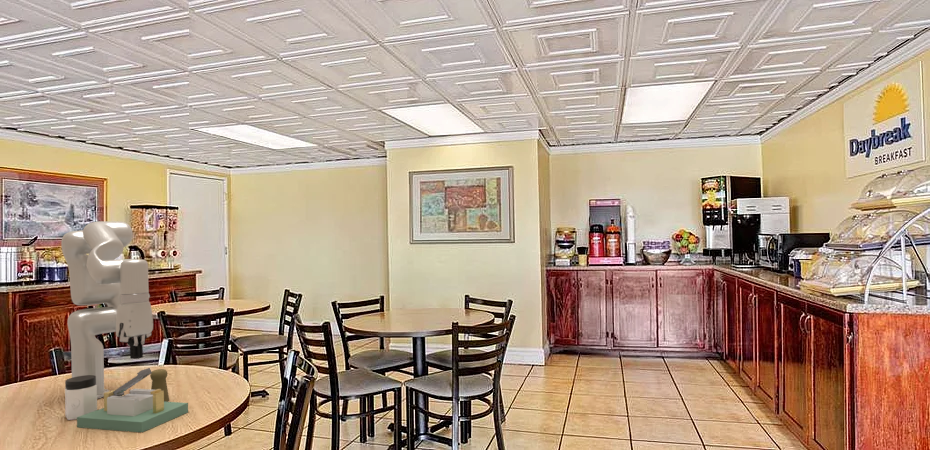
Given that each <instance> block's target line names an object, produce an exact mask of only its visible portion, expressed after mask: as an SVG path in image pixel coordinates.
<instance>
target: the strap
mask: <svg viewBox="0 0 930 450" xmlns="http://www.w3.org/2000/svg"><path fill="white" fill-rule="evenodd" d="M151 373H152V369H151V368H150V367H147V368H144V369H141V370H140V371H138V372H137V373H136V375H135V376H134V377H133V378H131V379H129V381H127V382H126V383H123V385H121V386H120V387H118V388H115V389H116V390H115V389H114V390H115V391H113V394H114V395H117V394H120V393H123V392H124V393H125V391H127V390H128V389H129V390H130V388H132V387H134V386H135V385H136V384H138V383H139V382H140V381H143V380H144V379H145V378H146V377H148V376H150V374H151Z"/></svg>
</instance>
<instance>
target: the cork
mask: <svg viewBox="0 0 930 450" xmlns="http://www.w3.org/2000/svg"><path fill="white" fill-rule="evenodd" d="M151 372H152V373H151V374H150V375H149V378H150V379H151V388H150V389H151V390H156V389H161V391H164V402H170V396H169V389H168V385H167V377H168V370H166V369H165V368H159V369H158V368H157V369H154V370H151Z"/></svg>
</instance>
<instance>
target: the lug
mask: <svg viewBox="0 0 930 450" xmlns="http://www.w3.org/2000/svg"><path fill="white" fill-rule="evenodd" d="M151 394H153V413H158V412H161V411H163V410H164V391H161V389H156V390H154V391H151Z"/></svg>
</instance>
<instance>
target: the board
mask: <svg viewBox="0 0 930 450" xmlns="http://www.w3.org/2000/svg"><path fill="white" fill-rule="evenodd" d="M116 389H117V388H115V389H112V390H109V392H106V393H104V397H103V407H102V408H99V409H97V410H96V411H93V412H90V413H88V414H85V415H82V416H79V417H77V419H76V427H77V428H83V429H92V430H93V429H94V430H107V431H119V432H120V431H121V432H128V431H129V432H131V433H141V432H142V433H144V432H147V431H149V430H151V429H154V428H156V427H158V426H160V425H162V424H164V423H167V422H169V421H171V420H174V419H177V418H179V417H181V416H183V415H186V414H187V413H189V402H180V401H179V402H176V401H168V402H164V410H163V411H161V412H158V413H153V394H151V391H154V390H151V388H150V389H146V388H133V389H129V391H128V392H129V393H127V394H125V391H124V392H123V393H120V394H117V395H114V394H113V391H115V390H116Z"/></svg>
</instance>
